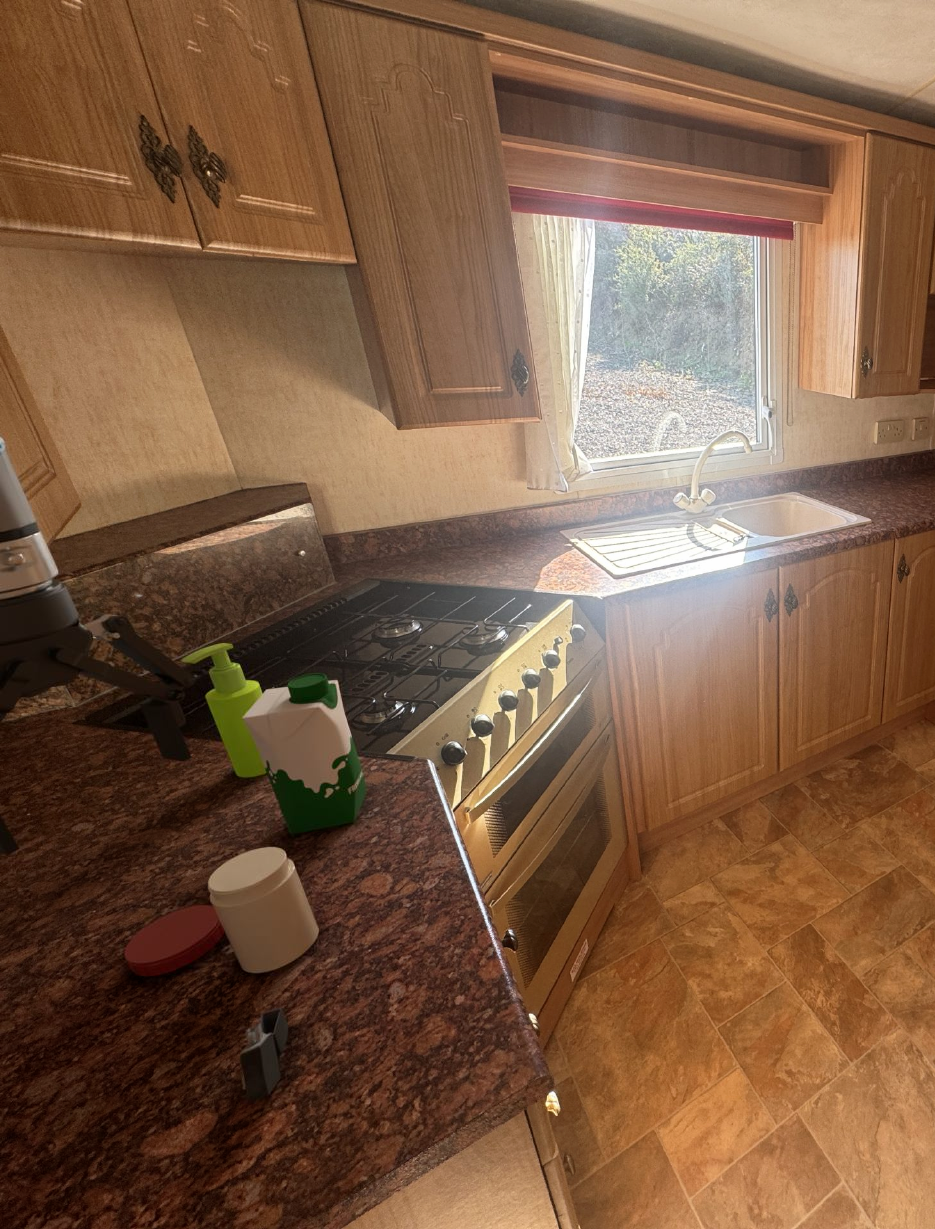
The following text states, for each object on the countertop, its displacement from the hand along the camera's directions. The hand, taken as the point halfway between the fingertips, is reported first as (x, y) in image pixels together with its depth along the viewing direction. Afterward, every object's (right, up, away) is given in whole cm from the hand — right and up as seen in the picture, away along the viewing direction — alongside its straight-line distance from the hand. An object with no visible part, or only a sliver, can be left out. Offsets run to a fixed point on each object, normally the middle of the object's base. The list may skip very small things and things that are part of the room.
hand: (98, 799), depth 61 cm
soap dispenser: (-16, -6, +36) cm, 40 cm away
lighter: (+20, -23, -4) cm, 31 cm away
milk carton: (+2, -10, +27) cm, 29 cm away
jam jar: (+11, -18, +7) cm, 22 cm away
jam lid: (+1, -16, +7) cm, 17 cm away
